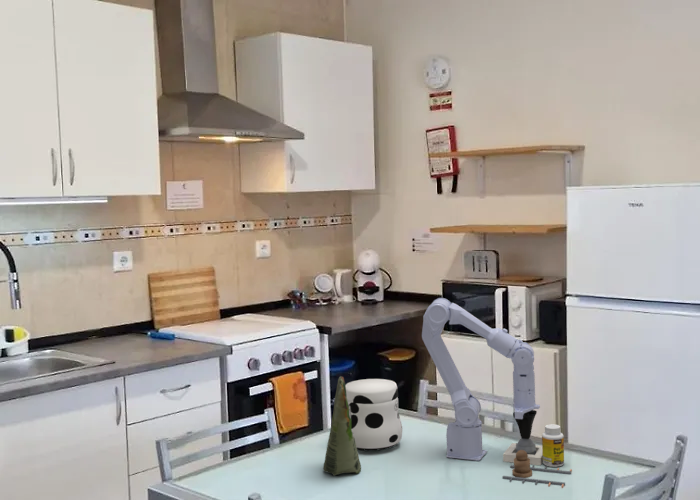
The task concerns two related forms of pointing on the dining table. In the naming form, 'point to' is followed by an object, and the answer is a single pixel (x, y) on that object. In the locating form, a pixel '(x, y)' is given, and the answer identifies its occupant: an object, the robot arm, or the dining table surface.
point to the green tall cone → (341, 437)
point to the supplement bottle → (553, 446)
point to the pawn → (522, 465)
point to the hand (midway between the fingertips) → (525, 438)
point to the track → (537, 479)
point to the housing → (534, 459)
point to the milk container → (374, 413)
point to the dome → (526, 446)
